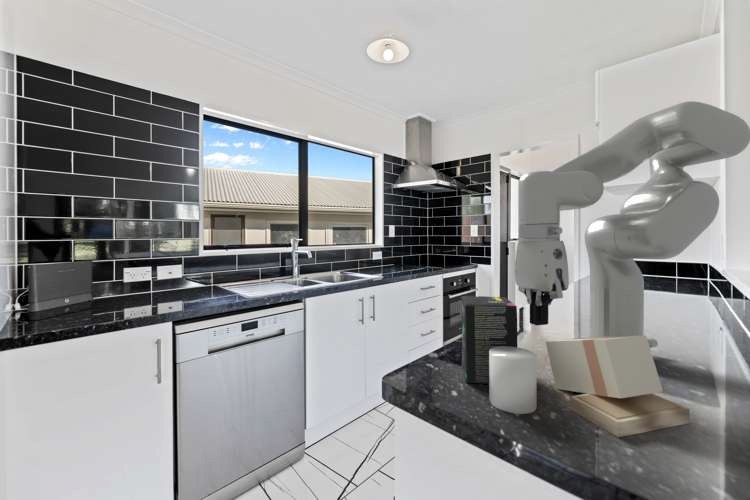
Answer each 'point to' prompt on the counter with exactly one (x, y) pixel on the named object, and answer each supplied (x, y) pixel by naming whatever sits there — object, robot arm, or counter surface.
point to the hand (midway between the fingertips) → (538, 323)
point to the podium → (629, 413)
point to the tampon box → (485, 333)
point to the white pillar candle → (513, 379)
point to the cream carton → (604, 366)
